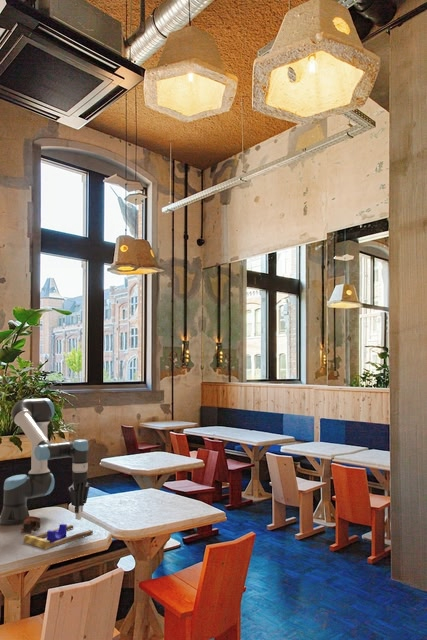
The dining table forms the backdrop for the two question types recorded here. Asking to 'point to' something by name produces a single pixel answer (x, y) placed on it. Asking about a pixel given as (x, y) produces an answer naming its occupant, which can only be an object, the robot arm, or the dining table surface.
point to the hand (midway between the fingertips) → (78, 519)
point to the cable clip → (57, 533)
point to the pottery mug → (30, 524)
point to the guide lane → (47, 544)
